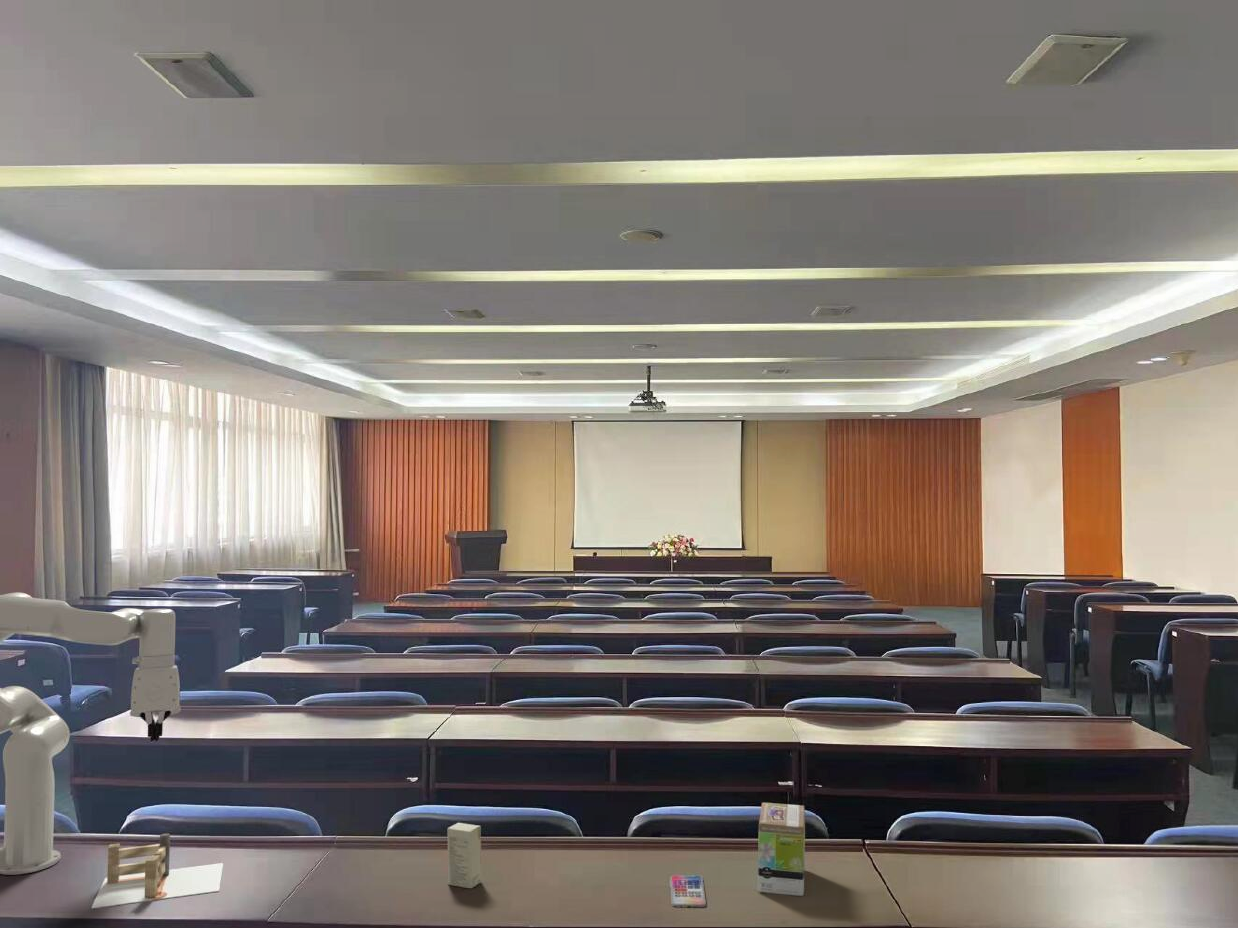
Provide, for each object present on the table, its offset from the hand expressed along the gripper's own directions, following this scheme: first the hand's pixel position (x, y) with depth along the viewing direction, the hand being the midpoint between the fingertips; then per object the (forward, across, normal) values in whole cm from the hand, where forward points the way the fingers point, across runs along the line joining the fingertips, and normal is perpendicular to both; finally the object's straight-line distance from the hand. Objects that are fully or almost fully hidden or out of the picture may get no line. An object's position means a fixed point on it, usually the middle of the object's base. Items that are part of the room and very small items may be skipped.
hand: (154, 739), depth 215 cm
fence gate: (+27, +3, -21) cm, 34 cm away
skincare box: (+27, +66, -41) cm, 82 cm away
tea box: (+27, +132, -64) cm, 149 cm away
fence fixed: (+27, -1, -14) cm, 31 cm away
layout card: (+27, +4, -19) cm, 33 cm away
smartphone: (+28, +110, -62) cm, 129 cm away
